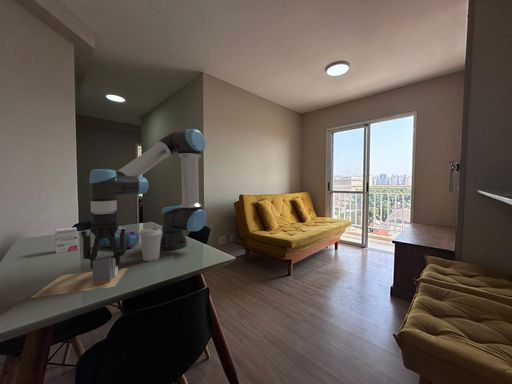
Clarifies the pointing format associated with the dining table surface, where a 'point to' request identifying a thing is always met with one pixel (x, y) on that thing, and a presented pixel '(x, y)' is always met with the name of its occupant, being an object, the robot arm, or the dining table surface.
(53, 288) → the board
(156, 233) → the coffee cup
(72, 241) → the ink box
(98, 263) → the block
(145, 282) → the dining table surface
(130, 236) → the pencil case
